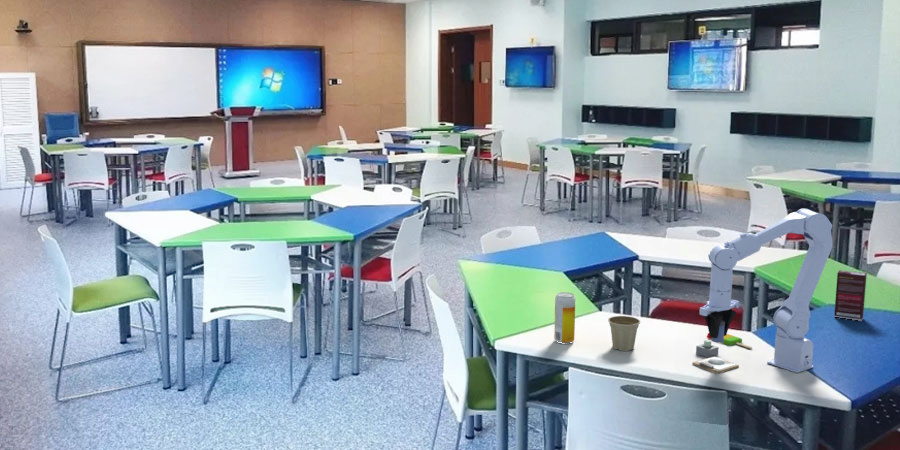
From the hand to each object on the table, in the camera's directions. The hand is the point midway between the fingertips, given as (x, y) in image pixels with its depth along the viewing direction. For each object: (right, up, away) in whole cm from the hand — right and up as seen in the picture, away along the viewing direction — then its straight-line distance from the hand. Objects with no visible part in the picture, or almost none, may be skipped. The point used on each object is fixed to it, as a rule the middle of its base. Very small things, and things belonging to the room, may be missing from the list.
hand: (717, 336), depth 216 cm
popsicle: (+11, -6, +20) cm, 24 cm away
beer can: (-40, -5, +21) cm, 46 cm away
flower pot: (-23, -6, +16) cm, 29 cm away
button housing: (0, -7, +10) cm, 12 cm away
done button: (0, -5, +9) cm, 11 cm away
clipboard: (-1, -8, +1) cm, 8 cm away
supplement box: (+59, -1, +44) cm, 74 cm away
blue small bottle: (0, -1, 0) cm, 1 cm away
